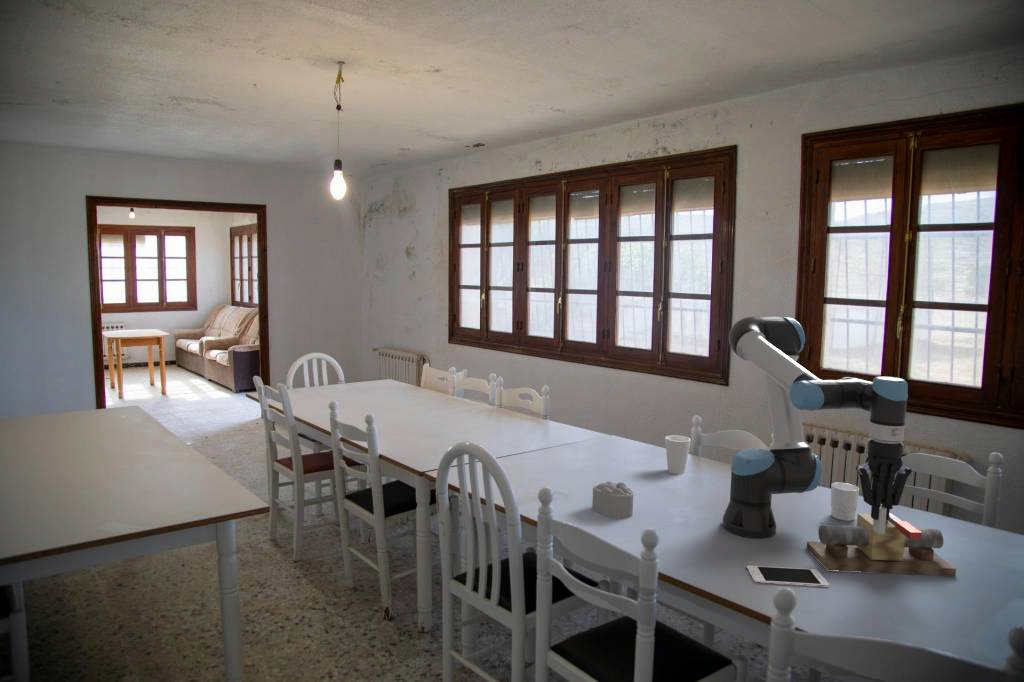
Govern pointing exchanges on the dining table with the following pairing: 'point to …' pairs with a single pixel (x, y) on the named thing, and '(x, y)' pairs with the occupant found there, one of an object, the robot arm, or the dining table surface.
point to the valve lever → (905, 528)
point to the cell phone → (787, 575)
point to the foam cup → (677, 453)
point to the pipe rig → (879, 550)
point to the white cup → (844, 501)
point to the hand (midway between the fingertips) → (878, 531)
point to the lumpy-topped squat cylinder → (613, 500)
